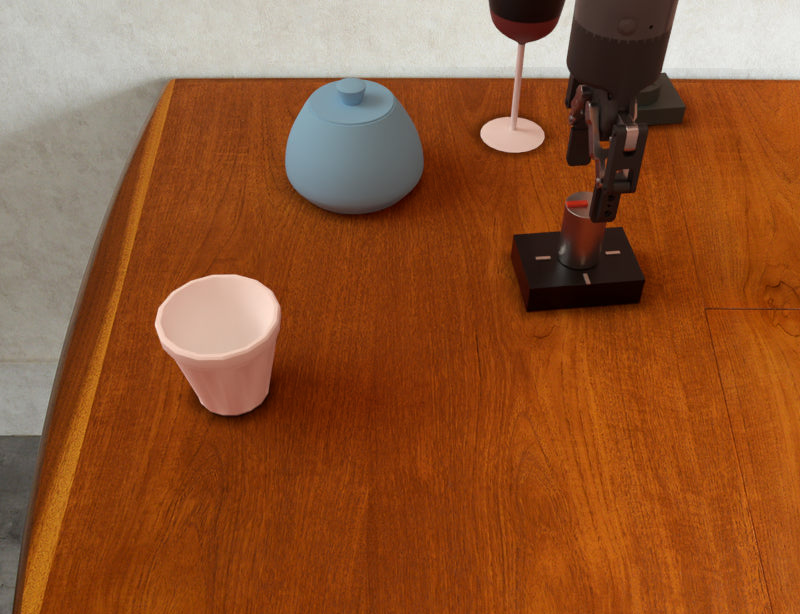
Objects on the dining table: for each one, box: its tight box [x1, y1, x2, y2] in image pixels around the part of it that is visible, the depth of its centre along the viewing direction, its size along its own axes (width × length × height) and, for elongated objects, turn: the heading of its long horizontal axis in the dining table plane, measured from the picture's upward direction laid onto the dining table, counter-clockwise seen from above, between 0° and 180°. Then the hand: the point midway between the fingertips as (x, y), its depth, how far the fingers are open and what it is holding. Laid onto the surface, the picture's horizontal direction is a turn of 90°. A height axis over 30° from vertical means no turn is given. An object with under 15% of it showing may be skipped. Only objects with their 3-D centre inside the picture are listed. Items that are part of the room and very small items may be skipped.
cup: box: [154, 273, 282, 417], centre depth 75 cm, size 10×10×9 cm
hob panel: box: [510, 226, 646, 313], centre depth 87 cm, size 11×8×3 cm
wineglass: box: [480, 0, 566, 154], centre depth 97 cm, size 8×9×20 cm
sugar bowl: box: [284, 77, 425, 215], centre depth 94 cm, size 15×15×12 cm
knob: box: [557, 190, 608, 269], centre depth 83 cm, size 4×4×6 cm
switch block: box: [576, 72, 687, 126], centre depth 107 cm, size 11×8×4 cm
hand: (588, 190), depth 80 cm, fingers open, 8 cm apart
